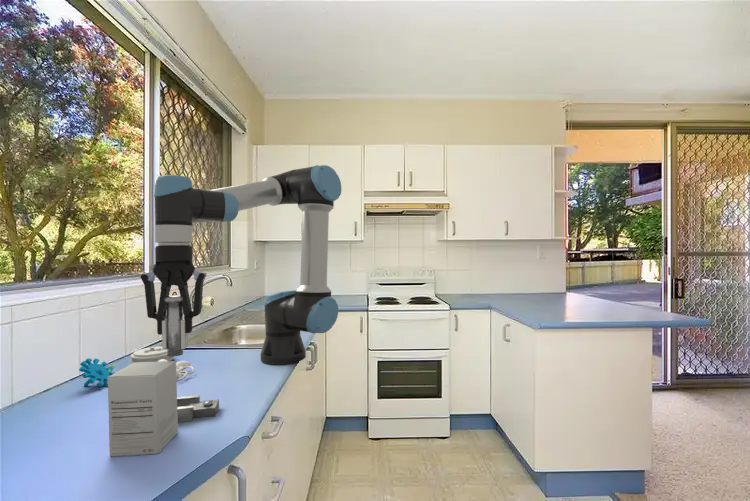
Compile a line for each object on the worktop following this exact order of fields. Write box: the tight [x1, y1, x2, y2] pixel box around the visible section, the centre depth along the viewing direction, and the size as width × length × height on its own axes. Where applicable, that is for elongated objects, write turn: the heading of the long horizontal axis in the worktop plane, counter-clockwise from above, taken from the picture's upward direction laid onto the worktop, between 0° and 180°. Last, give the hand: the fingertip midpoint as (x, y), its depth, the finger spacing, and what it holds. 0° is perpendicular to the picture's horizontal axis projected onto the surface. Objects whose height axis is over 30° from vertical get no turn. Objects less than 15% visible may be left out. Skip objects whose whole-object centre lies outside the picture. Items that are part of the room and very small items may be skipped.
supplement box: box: [107, 360, 179, 457], centre depth 76 cm, size 9×9×15 cm
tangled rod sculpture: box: [158, 359, 195, 382], centre depth 112 cm, size 19×14×4 cm
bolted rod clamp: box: [177, 394, 220, 424], centre depth 88 cm, size 17×7×3 cm, turn 103°
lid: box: [130, 345, 175, 364], centre depth 130 cm, size 13×13×5 cm
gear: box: [78, 357, 115, 388], centre depth 109 cm, size 11×6×10 cm
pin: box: [164, 294, 184, 358], centre depth 88 cm, size 5×5×13 cm
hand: (175, 347), depth 88 cm, fingers closed on pin, 3 cm apart
